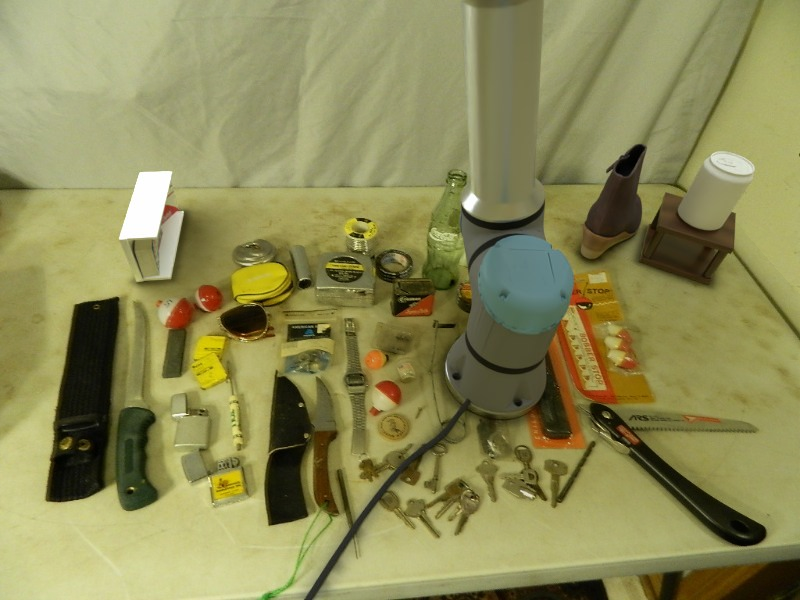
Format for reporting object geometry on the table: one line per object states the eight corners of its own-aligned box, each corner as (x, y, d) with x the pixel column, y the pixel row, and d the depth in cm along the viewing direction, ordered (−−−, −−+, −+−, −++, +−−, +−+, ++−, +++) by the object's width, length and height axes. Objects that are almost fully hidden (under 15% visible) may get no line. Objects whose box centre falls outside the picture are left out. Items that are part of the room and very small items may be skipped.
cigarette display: (170, 280, 91) (156, 237, 84) (136, 281, 90) (118, 239, 83) (184, 208, 104) (173, 167, 97) (154, 209, 103) (141, 168, 96)
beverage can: (719, 238, 94) (756, 181, 86) (673, 223, 97) (705, 166, 88) (723, 215, 100) (759, 159, 91) (679, 200, 102) (710, 144, 93)
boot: (649, 215, 113) (693, 129, 99) (606, 274, 99) (650, 184, 85) (610, 199, 116) (647, 113, 102) (564, 253, 103) (599, 163, 88)
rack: (708, 285, 99) (734, 249, 93) (638, 261, 103) (658, 225, 96) (712, 248, 107) (736, 212, 100) (647, 227, 110) (665, 192, 104)
